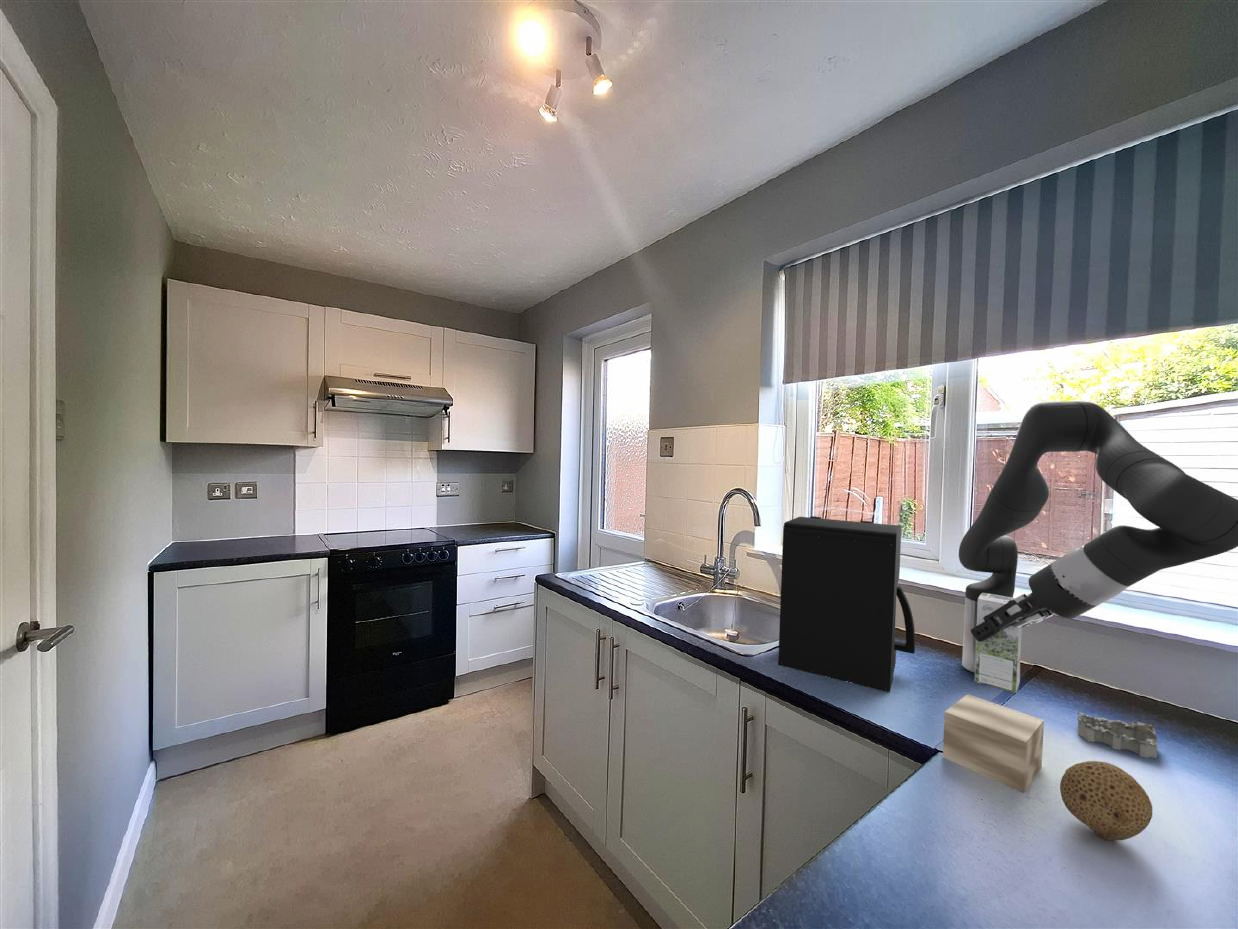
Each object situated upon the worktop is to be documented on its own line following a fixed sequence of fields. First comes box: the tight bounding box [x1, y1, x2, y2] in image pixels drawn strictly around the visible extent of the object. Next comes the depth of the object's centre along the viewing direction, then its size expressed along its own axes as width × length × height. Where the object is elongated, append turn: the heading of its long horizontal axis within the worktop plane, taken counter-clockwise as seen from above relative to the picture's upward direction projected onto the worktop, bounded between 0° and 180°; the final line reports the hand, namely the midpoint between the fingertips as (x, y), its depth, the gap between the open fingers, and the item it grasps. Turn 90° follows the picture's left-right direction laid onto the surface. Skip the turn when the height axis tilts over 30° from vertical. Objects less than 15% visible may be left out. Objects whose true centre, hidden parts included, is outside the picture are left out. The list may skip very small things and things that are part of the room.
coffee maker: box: [777, 515, 916, 694], centre depth 121 cm, size 28×20×35 cm
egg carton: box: [1076, 711, 1159, 759], centre depth 92 cm, size 11×8×4 cm
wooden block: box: [942, 693, 1045, 793], centre depth 84 cm, size 11×11×8 cm
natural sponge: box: [1059, 760, 1153, 842], centre depth 68 cm, size 9×9×10 cm
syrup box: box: [974, 593, 1023, 694], centre depth 84 cm, size 6×6×14 cm
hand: (988, 633), depth 85 cm, fingers closed on syrup box, 7 cm apart
